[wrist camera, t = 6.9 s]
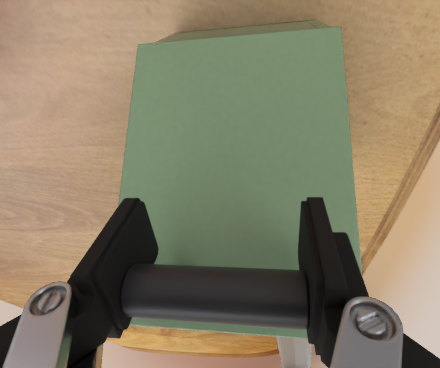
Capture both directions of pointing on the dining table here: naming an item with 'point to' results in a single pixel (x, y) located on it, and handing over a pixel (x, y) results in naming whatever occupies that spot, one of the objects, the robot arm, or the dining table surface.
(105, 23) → the dining table surface
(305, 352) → the salt shaker
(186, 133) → the lid
